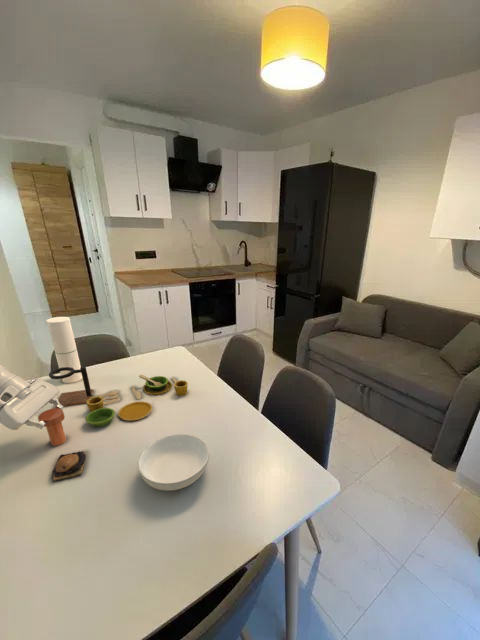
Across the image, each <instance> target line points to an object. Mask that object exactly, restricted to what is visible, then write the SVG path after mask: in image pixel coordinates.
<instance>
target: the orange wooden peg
mask: <svg viewBox="0 0 480 640" xmlns="http://www.w3.org/2000/svg"><path fill="white" fill-rule="evenodd" d="M37 419H38V420H37V421H39V422H40V421H41V420H42V421H43V422H45V423H46V425H45V426H44V427H45V428H46V432H47V435H48V439H49V441H50V445H51V446H53V447H54V446H55V447H56V446H61V445H63V444H64V443H65V442H66V441H67V436H66V434H65V430H64V425H63V423H62V422H63V421H64V420H65V413H64V410H63V408H62V409H59V408H55V407H54V408H49V409H46V410H44V411H42V412H41V413H39V415H38V416H37ZM44 427H43V428H44Z"/></svg>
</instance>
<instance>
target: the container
mask: <svg viewBox="0 0 480 640" xmlns="http://www.w3.org/2000/svg"><path fill="white" fill-rule="evenodd" d="M46 324H47V328H48V332H49V336H50V339H51V343H52V347H53V351H54V355H55V359H56V362H57V366H58V368H63V367H71V368H73V369H74V370H79V369H80V367H82V366H81V361H80V357H79V353H78V349H77V344H76V340H75V335H74V331H73V327H72V322H71V318H70V317H69V316H54V317H50V318H47V319H46ZM69 372H70V371H67V370H65V371H60V372H59V373H60V375H65V374H68V373H69ZM81 380H83V378H82V374H81V373H74V374H73V375H71V376H69V377H67V378H63V379H61V382H63V383H64V384H72V383H76V382H79V381H81Z"/></svg>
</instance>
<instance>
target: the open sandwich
mask: <svg viewBox="0 0 480 640" xmlns="http://www.w3.org/2000/svg"><path fill="white" fill-rule="evenodd" d="M86 457H87V454H86V451H84V450H82V451H77V452H72V453H67V454H60V455H59V457H58V458H57V462H56V464H55V467H54V468H53V470H52V475H53V476H52V481H53V482H55V481H60V480H64V479H69V478H73V477H76V476H80V475H82V474H83V471H84V468H85V465H86V463H85V462H86V459H87V458H86Z"/></svg>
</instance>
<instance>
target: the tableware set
mask: <svg viewBox="0 0 480 640" xmlns="http://www.w3.org/2000/svg"><path fill="white" fill-rule="evenodd" d="M138 377H139V378H140V379H142V380H144V381H145V384H144V386H143V387H142V390H143V392H144V393H145V394H148V395H151V396H159V395H163V394H165V393H168V392H169V391H170V390H171V389H172V387H174V390H175V393H176V395H177V396H178V397H184V396H186V395H187V393H188V387H189V383H188V381H187V380H182V379H181V380H178V381H177V378H176V377H174V376H173V377H171V379H172V381H173V383H172V382H171V381H170V380H169V379H168V377H166V376H162V375H156V376H152V377H148V376H145V375H143V374H139V375H138ZM130 389H131V390H132V393H133V395H134V398H135V400H141V399H142V397H143V396H142V394H141V393H140V391H137V390H136V386H131V388H130ZM104 397H105V398H104ZM120 401H121V398H120V395H119V391H118V390H111V391H109V392H107V393H105V394H101V395H95V396H92V397H91V398H90V399H88V400H87V402H86V403H85V404H86V405H87V407H88V409H89V413H88V414H87V415H86V416H85V418H84V419H85V422H86V423H87V424H89V425H92V427H96V428H101V427H105V426H107V425H108V424H110V423H111V422H112V419H113V418H114V417H115V414H116V411H115V409H113V408H111V407H104V406H107V405H111V404H115V403H118V402H120ZM152 411H153V405H152V404H151V403H149V402H147V401H133V402H130V403H128V404H125V405H124V406H122V407H121V408H120V409H119V411H118V413H117V416H118V417H119V418H120V419H122V420H123V421H127V422H135V421H139V420H142V419H144V418H146V417H148V416H149V415H150V414H151V413H152Z"/></svg>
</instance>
